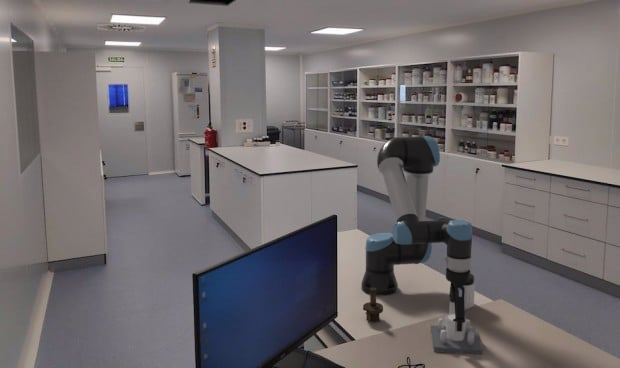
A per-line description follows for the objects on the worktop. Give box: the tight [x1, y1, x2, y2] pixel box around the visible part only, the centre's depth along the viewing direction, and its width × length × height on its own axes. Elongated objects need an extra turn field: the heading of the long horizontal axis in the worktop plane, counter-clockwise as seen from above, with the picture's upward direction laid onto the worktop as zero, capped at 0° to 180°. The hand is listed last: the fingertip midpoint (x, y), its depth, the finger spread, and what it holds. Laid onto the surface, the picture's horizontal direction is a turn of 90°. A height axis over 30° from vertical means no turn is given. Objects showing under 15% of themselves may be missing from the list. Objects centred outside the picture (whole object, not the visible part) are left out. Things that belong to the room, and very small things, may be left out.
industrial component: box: [362, 288, 384, 323], centre depth 183 cm, size 9×7×12 cm
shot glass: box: [444, 313, 468, 341], centre depth 166 cm, size 7×7×7 cm
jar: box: [449, 273, 476, 310], centre depth 194 cm, size 9×8×12 cm
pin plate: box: [430, 317, 484, 355], centre depth 166 cm, size 15×15×6 cm
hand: (455, 329), depth 166 cm, fingers open, 13 cm apart
